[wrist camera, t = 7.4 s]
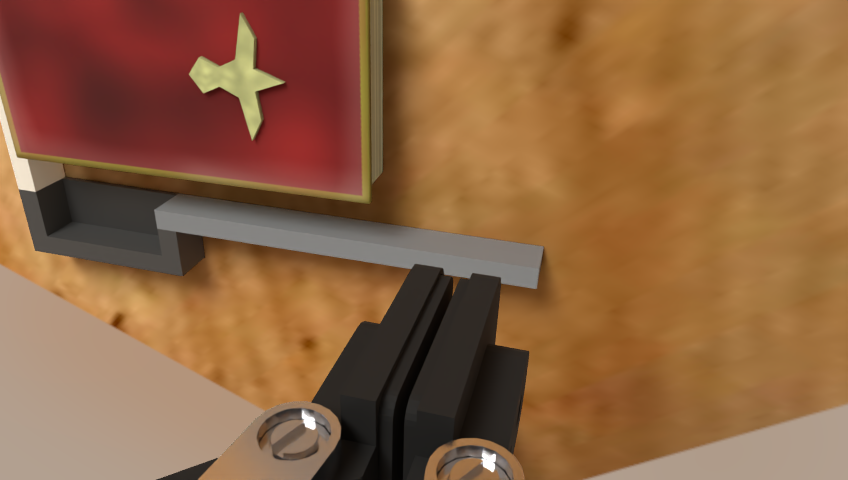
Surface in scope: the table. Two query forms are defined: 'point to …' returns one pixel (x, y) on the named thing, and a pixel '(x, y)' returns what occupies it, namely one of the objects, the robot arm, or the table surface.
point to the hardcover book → (201, 90)
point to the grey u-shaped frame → (232, 229)
